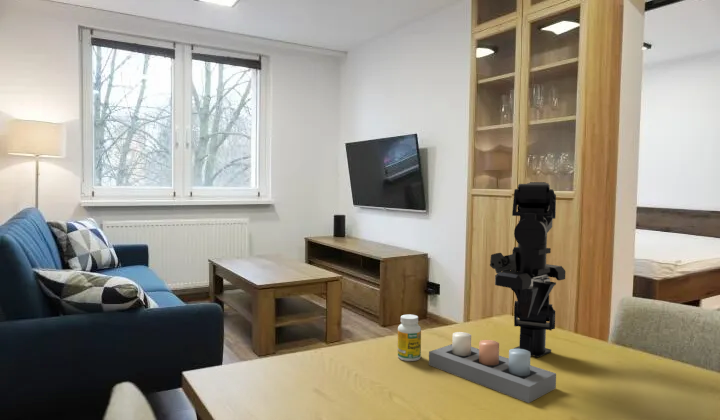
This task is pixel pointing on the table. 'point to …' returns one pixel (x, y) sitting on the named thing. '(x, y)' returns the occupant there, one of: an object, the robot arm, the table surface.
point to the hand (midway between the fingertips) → (530, 315)
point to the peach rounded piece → (489, 352)
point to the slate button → (519, 362)
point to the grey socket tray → (494, 374)
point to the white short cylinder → (461, 344)
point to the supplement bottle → (409, 338)
